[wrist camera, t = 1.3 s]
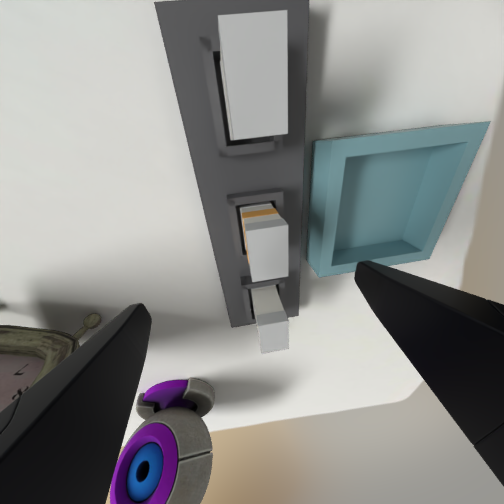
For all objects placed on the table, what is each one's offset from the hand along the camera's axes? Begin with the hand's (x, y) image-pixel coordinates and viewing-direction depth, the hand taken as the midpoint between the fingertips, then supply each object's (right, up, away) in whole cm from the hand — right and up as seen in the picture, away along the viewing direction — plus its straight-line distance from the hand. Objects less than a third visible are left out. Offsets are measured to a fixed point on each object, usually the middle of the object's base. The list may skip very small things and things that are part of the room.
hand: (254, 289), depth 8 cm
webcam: (-14, -25, +27) cm, 39 cm away
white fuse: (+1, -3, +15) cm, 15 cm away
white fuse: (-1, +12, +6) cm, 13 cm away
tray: (+12, +7, +12) cm, 18 cm away
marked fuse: (0, +4, +10) cm, 11 cm away
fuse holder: (0, +5, +11) cm, 12 cm away
